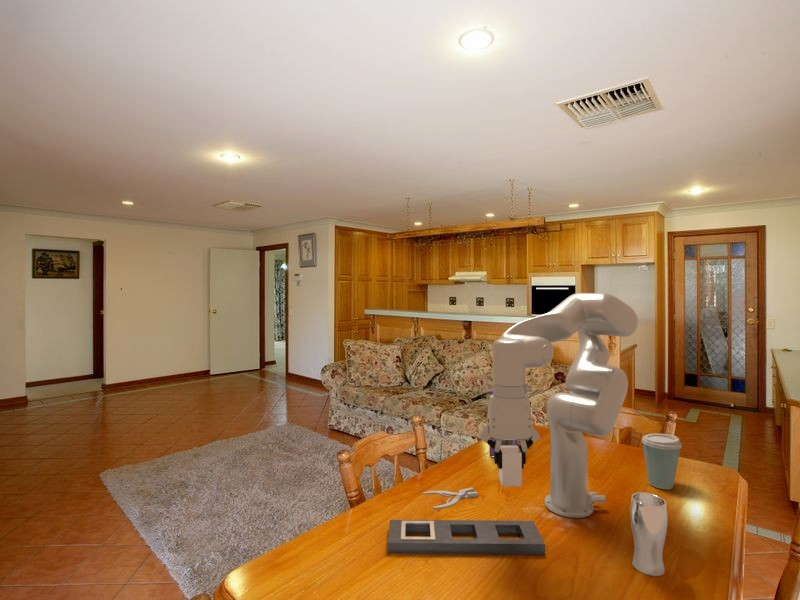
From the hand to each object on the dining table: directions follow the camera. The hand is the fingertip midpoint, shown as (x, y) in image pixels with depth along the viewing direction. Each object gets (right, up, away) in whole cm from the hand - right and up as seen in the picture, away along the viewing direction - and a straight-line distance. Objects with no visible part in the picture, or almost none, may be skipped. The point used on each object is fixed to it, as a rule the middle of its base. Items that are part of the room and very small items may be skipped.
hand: (509, 465), depth 104 cm
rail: (-11, -19, +1) cm, 22 cm away
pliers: (-11, -19, +23) cm, 31 cm away
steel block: (0, -4, 0) cm, 4 cm away
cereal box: (+13, -17, +59) cm, 63 cm away
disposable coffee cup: (+54, -17, +30) cm, 64 cm away
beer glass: (+28, -19, -9) cm, 35 cm away
